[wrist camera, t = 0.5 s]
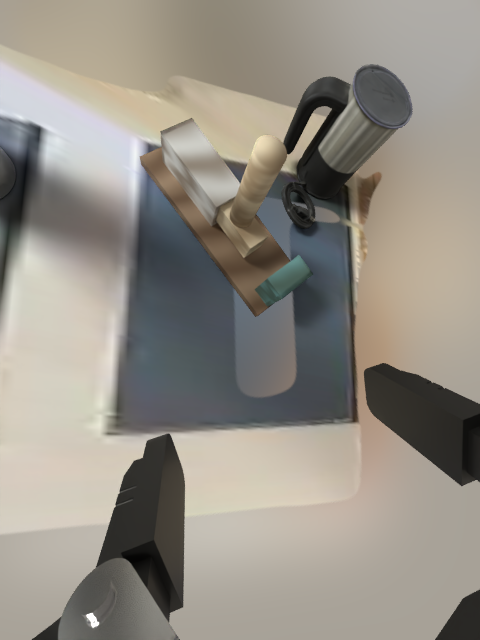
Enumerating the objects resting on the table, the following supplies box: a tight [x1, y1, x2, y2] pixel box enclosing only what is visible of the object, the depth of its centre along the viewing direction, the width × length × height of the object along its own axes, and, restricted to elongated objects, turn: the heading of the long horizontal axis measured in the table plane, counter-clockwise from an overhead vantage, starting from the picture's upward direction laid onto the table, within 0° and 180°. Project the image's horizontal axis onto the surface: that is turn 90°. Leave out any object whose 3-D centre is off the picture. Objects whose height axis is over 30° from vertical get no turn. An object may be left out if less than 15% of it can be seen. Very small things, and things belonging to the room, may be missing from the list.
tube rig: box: [140, 118, 313, 317], centre depth 35 cm, size 29×10×7 cm, turn 38°
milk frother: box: [282, 64, 412, 229], centre depth 37 cm, size 14×16×15 cm
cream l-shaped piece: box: [216, 135, 287, 258], centre depth 29 cm, size 18×3×15 cm, turn 38°
